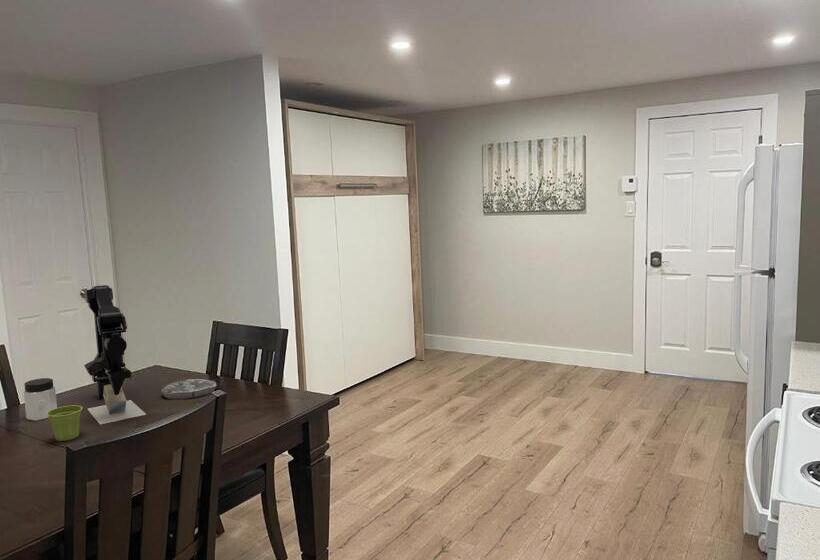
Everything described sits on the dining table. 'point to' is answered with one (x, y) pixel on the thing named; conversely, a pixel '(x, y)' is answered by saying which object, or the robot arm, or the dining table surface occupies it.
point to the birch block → (114, 400)
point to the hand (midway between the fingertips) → (116, 394)
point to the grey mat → (104, 416)
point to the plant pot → (65, 422)
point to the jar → (39, 398)
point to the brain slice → (188, 389)
